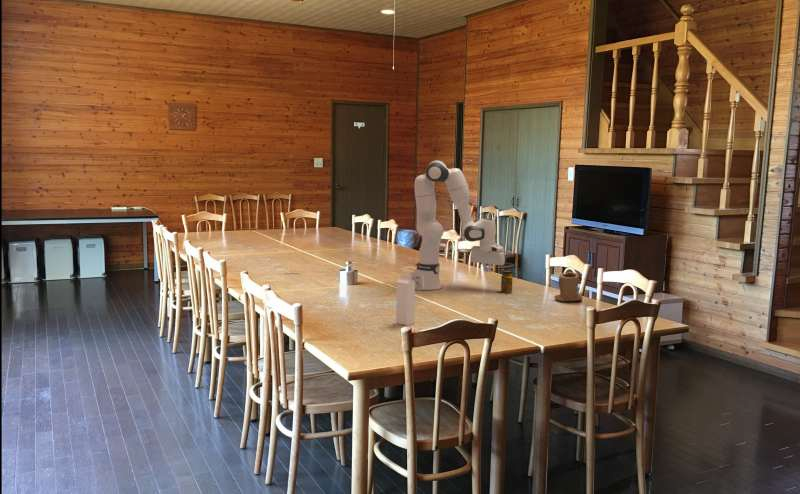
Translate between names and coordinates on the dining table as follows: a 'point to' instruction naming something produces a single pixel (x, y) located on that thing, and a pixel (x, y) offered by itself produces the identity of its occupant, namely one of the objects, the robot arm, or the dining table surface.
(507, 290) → the condiment
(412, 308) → the milk
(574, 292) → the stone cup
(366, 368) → the dining table surface
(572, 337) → the dining table surface
